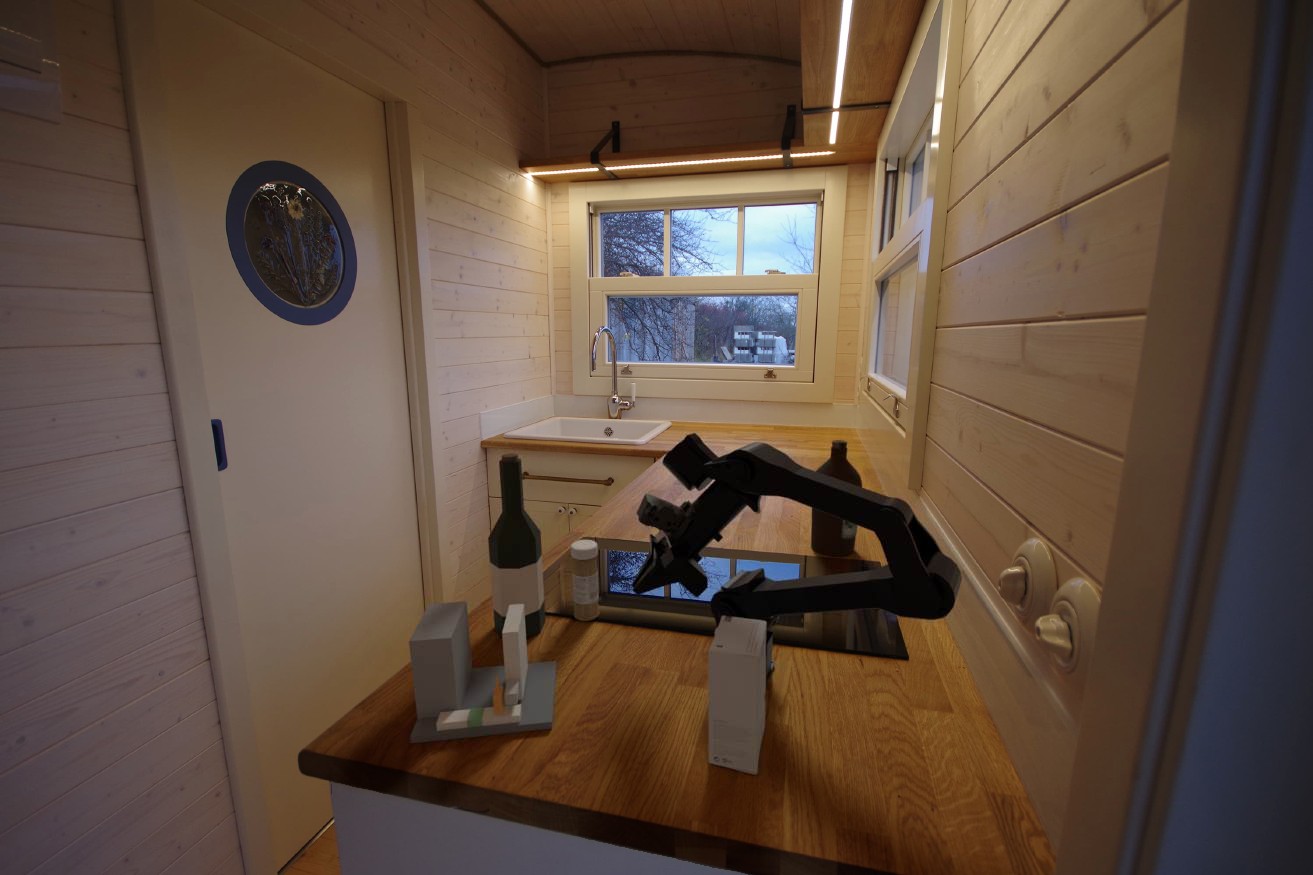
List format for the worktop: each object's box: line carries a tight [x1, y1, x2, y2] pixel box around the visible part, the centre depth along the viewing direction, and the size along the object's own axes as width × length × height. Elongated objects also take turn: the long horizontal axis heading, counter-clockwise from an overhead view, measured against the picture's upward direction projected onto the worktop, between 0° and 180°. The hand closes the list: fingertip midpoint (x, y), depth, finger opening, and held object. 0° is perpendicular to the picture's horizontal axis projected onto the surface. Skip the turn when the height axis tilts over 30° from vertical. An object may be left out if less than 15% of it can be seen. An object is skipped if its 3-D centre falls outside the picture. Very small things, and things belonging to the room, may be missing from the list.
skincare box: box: [707, 616, 767, 776], centre depth 63 cm, size 8×6×15 cm
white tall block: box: [501, 604, 528, 705], centre depth 71 cm, size 2×10×10 cm, turn 8°
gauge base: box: [408, 600, 558, 744], centre depth 70 cm, size 17×12×12 cm
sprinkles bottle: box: [570, 539, 600, 622], centre depth 92 cm, size 5×5×13 cm
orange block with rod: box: [493, 676, 504, 713], centre depth 66 cm, size 1×2×4 cm, turn 8°
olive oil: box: [810, 439, 863, 557], centre depth 118 cm, size 11×11×25 cm
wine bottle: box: [487, 452, 546, 640], centre depth 86 cm, size 8×8×30 cm
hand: (634, 590), depth 76 cm, fingers closed
